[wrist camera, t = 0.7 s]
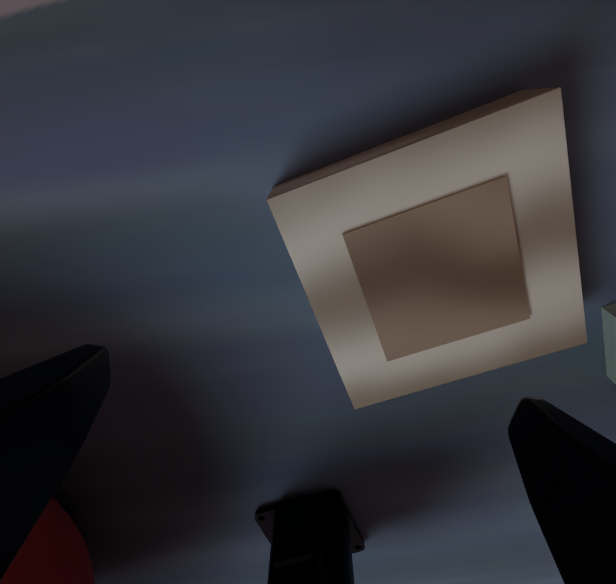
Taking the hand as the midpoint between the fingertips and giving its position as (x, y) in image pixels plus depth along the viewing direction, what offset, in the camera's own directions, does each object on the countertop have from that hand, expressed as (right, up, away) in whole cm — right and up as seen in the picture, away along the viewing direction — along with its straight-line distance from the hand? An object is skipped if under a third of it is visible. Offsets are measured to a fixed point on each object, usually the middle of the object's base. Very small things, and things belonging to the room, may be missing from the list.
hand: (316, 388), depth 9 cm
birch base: (+6, +4, +12) cm, 14 cm away
